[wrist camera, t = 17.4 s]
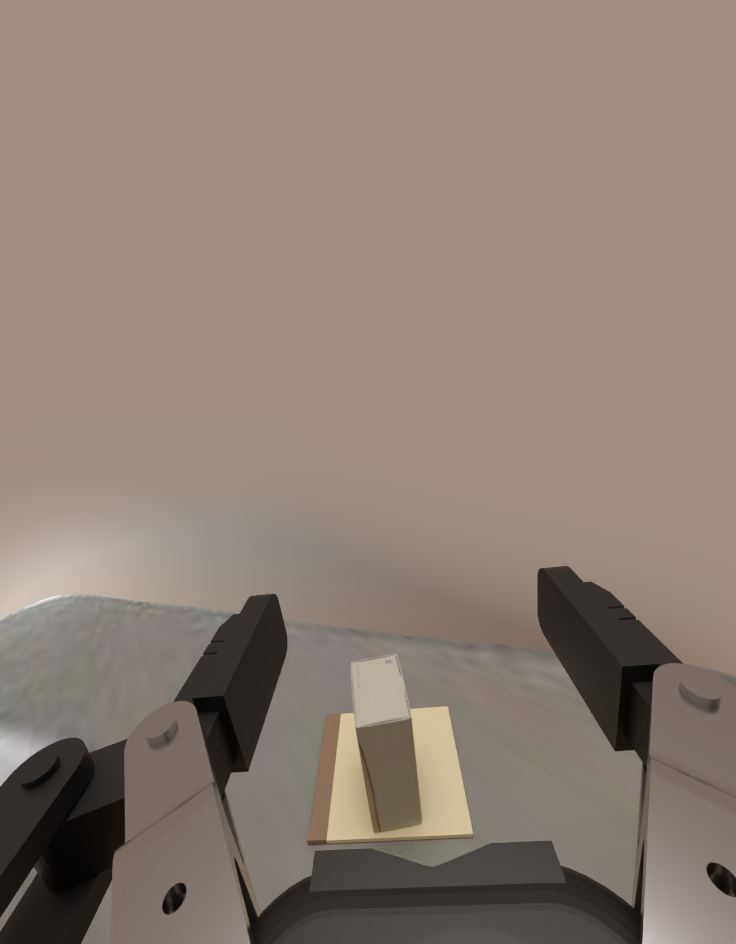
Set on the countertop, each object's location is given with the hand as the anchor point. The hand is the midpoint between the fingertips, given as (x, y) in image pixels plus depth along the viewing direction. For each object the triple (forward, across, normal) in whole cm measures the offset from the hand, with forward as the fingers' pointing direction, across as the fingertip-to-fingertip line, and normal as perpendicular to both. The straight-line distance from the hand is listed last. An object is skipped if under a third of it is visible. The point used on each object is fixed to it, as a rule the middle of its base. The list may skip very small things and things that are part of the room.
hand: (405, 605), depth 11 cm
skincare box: (+13, +3, +30) cm, 33 cm away
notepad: (+15, +3, +30) cm, 34 cm away
